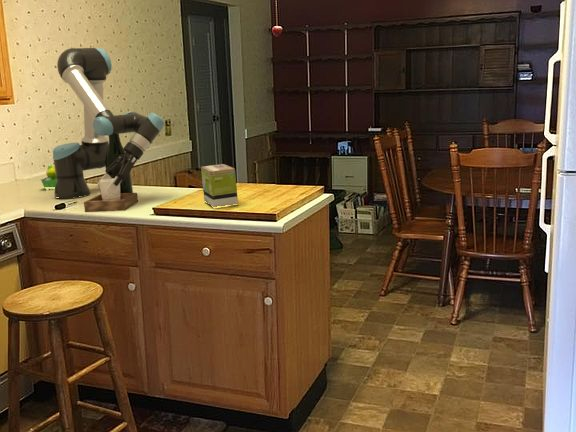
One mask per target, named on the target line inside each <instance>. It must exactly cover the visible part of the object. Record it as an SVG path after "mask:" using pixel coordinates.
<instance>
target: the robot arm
mask: <svg viewBox="0 0 576 432" xmlns="http://www.w3.org/2000/svg"><path fill="white" fill-rule="evenodd" d="M56 63H57V64H56V67H57V73H58V74H59V76H60V78H61V80H62V81H63V82H64V83H66V84H68V85H69V87H71V89H72V90H73V93H74V94H75V95H76V96H77V97H78V99H79V101H80V102H81V103H82V105H83V123H84V124H83V125H84V126H83V127H84V136H83V137H82V138H81V144H80V143H79V142H76V141H75V142H70V143H64V144H63V143H62V144H60V145H57V146H55V147H54V148H53V149H52V159H53V164H54V167H55V172H56V179H57V182H56V187H55V190H54V198H55V197H59V198H71V199H74V198H73V197H79V196H84V195H87V196H89V195H90V194H91V191H90V188H89V185H88V184H87V181H86V179H85V176H84V172H85V171H91V170H96V169H102V168H105V171H104V172H105V173H104V174H103V176H102V177H101V178H100V180H103V179H111V178H112V177H113V176H112V175H113V174H114V173H116V172H117V171H118V170H119V169H120V168H121V169H120V172H119V174H117V175H116V177H115V178H114V180H113V181H112V182H111V184H110V185H109V186H108V188H107V189H106V190H107V191H109V192H110V193H111V194H112V193H113V192H114V191H115V189H116V188H117V187H118V185H119V184H120V183H121V181H122V180H124V179H127V177H128V175H129V173H131V172H132V171H131V170H132V169H133V167H134V166H135V164H136V163H137V162H138V160H139V161H140V159H141V158H142V156H143V155H144V152H146V151H147V149H150V146H151V144H152V143H153V141H154V140H155V139H156V138H157V137H158V135H159V134H160V132H161V131H162V130H163V128H164V126H165V124H166V122H165V120H164V119H163V118H162V117H161V116H160V115H158V114H157V113H155V112H150V113H149V114H148V115H147V116H145V115H142V114H140V113H138V112H136V111H132V110H131V111H126V112H125V113H124V114H119V115H115V114H113V111H111V110H110V108H109V107H108V105H107V103H105V101H104V83H105V82H106V81H107V76H108V75H109V74H110V73H111V71H112V68H113V67H112V66H113V65H112V59H111V57H110V55H109V54H108V52H107V51H106V50H105V49H103V48H100V47H81V48H80V47H79V48H78V47H73V48H67V49H65V50H64V51H63V52H61V54H60V55H59V57H58V59H57V61H56ZM127 133H129V134H130V133H134V134H133V135H132V136H131V138H130V139H129V142H127V143H126V144H125V146H123V148H124V151H125V152H126V153H125V154H124V155H122V154H120V156H119V157H118V158H117V159H116V160H115V161H114V162H113V163H112V164H111V165H110V166H109V167H108V168H107V169H106V166H105V158H106V153H107V149H108V144H109V138H107V137H106V136H108V137H109V135H114V134H119V135H120V134H121V135H122V134H127ZM117 176H118V177H117ZM95 185H96V186H95V187H97V188H98V189H99V190H100V184H99V182H98V183H97V184H95ZM88 194H89V195H88ZM84 197H85V196H84ZM79 198H80V197H79Z"/></svg>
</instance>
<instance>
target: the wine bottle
mask: <svg viewBox="0 0 576 432" xmlns="http://www.w3.org/2000/svg"><path fill="white" fill-rule="evenodd" d="M108 142H109V144H108V149H107V153H106V158H105V166H106V167H105V170H106V169H107V168H108V167H109V166H110V165H111V164H112V163H113V162H114V161H115V160H116V159H117V158H118V157H119V156H120V154H122V155H124V154H125V153H126V152H125V151H124V146H123V145H122V141H121V138H120V134H114V135H109V136H108ZM120 169H121V168H120ZM120 169H119V170H118V171H117V172H116V173H114V174H113V175H112V176H113V177H112V178H115V177H116V175H117V174H119V172H120ZM117 177H118V176H117ZM112 178H111V179H112ZM132 181H133V180H132V173H131V172H130V173H129V175H128V177H127V179H124V180H122V181H121V183H120V193H134V187H133V182H132Z"/></svg>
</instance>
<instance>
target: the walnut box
mask: <svg viewBox="0 0 576 432" xmlns="http://www.w3.org/2000/svg"><path fill="white" fill-rule="evenodd" d="M120 195H121V196H120V199H121V200H107V201H103V199H102V195H101V193H99V194H97V195H96V196H93V197H91V198H89V199H88V200H85V201H84V202H83V204H84V205H83V206H84V212H85V213H92V212H93V213H96V212H119V211H120V212H121V211H126V210H128V209H130V208H132V207H133V206H134V205H136V204H138V203H139V195H138V192H133V193H120Z"/></svg>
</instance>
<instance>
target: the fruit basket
mask: <svg viewBox="0 0 576 432" xmlns="http://www.w3.org/2000/svg"><path fill="white" fill-rule="evenodd" d="M45 174H46V176H47V177H44V178H41V179H40V181H41V183H42V186H43V188H44V187H56V182H57V179H56V172H55V165H54V166H53V165H48V167H47V170H46V173H45Z"/></svg>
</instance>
